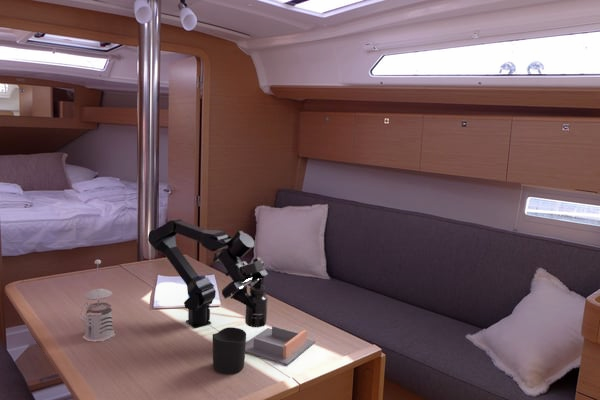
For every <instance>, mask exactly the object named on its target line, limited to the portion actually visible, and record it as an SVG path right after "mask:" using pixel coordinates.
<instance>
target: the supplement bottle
mask: <svg viewBox="0 0 600 400" xmlns="http://www.w3.org/2000/svg"><path fill="white" fill-rule="evenodd" d="M263 286H264V285H263ZM263 286H250V288H249V294H248V295H249V296H250V298H251V300H252V301H253V303H254V305H255V308H254V309H251V308H250V307H248V306H246V305H245V315H244V319H245V321H244V323H245V324H246V326H247V327H250V328H262V327H264V326H266V324H267V319H268V318H267V316H268V302H269V301H268V300H269V299H268V296H267V295H266V296H265V294H266V288H265V286H264V287H263Z"/></svg>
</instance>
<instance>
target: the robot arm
mask: <svg viewBox="0 0 600 400" xmlns="http://www.w3.org/2000/svg"><path fill="white" fill-rule="evenodd" d="M177 235H181V236H183V237H185V238H188V239H191V240H193V241H197V242H198V243H200V245H201V246H202V247H203V248H205V249H206V250H208V251H210V252H215V253H213V258H212V261H213V263H216V262H219V263H220V264H221V265H222V266H223V268H224V269H225V271H226V273H225V274H224V275H225V276H226V277H230V278H231V280H232V281H231V282H230V283H228V284H227V285H226V286H224V288H223V289H222V290H221V295H222V296H223V298H224V299H225V300H226V299H228V298H230V299H231V300H232V299H233V300H235V301H237V302H239V303H241V304H243V305H245V307H246V306H248V307H250V308H251V309H254V308H255V305H254V303H253V301H252V300H251V298H250V296H249V295H250V294H249V293H248V287H247V286H248V285H250V287H252V286H263V287H265V286H264V282H265V280H266V277H267V276H268V274H269V273H268V272H267V270H266V269H265V268H263V266H264V263H265V261H263V260H262V258H261V257H260V256H258V257H256V258H253V260H252V262H250V263H247V261H244V260H243V261H242V260H241V259H240V258H243V257H244V256H245V255H246V254H247V253H248V252H249V251H250V250H251V249H252V248H254V247H255V240H254V239H253V237H252V236H250V235H249V234H248V233H245V232H244V231H243V230H239V231H238V230H237V232H235V235H233V236H231V235H229V234H227V232H225V231H223V230H218V229H205V228H203V227H200V226H198V225H195V224H193V223H189V222H188V221H184V220H182V219H180V218H176V219H170V220H169V221H167V222H166V223H165V224H162V225H160V226H159V227H158V228H155V229H152V230H151V231H149V233H148V235H147V241H148V242H149V244H150V245H151V246H152V247H153V249H155V250H156V251H158V252H160V253H162V254H163V255H164V256H165V257H166V258H167V260H168V261H169V263H170V264H171V265H172V268H174V270H175V271H176V272H177V273H178V275H179V276H180V277H181V279H182V280H183V282H184V283H185V284H186V288H187V295H188V298H187V299H186V300H185V301H183V304H184V308H185V309H186V310H188V315H187V316H188V317H187V319H186V320H185V323H187V325H189V326H191V327H192V328H195V329H196V328H199V327H204V326H207V325H211V324H212V322H211V321H210V320H211V309H210V305H211V304H213V301H214V299H215V298H216V293H217V291H216V289H215V285H214V284H213V283H212V282H211V280H210V279H209V277H200V276H199V274H198V273H197V272H196V271H195V269H194V267H193V266H192V264H191V263H190V262H189V260H187V259H186V257H185V256H184V254H183V253H182V251H181V250H180V248H179V247H178V246H177V239H176V236H177ZM219 250H220V252H217V251H219ZM265 296H266V297H267V294H266V293H265Z"/></svg>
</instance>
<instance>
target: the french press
mask: <svg viewBox="0 0 600 400" xmlns="http://www.w3.org/2000/svg"><path fill="white" fill-rule="evenodd" d="M101 263H102V261H101V260H100V259H95V260H94V265H97V268H96V269H97V271H99V265H100V264H101ZM112 295H113V292H112V291H111V290H109V289H105V288H100V287H99V282H97V288H94V289H91V290H89V291H88V292H86V293H84V295H83V297H85V299H87V300H88V301H89V300H90V301H97V302H95V303H92V302H91V303H88V302H85V303H84V304H83V305H82V308H81V310H80V314H82V312H83V309H84V307H85V306H86V309H85V312H84V321H85V323H84V321H83V317H82V316H80V322H81V323H82V325H84V326H85V333H84V334H85V335H84V334H83V335H84V336H85V338H87V339H89V340H103V339H107V338H110V337H112V336H113V335H114V332H115V330H113V308H111V306H112V305H111V304H110V303H108V302H102V301H101V302H100V300H104V299H107V298H110V297H111V296H112ZM95 314H98V315H95Z"/></svg>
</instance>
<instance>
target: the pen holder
mask: <svg viewBox="0 0 600 400" xmlns="http://www.w3.org/2000/svg"><path fill="white" fill-rule="evenodd" d="M246 342H247V333H246V331H245V330H244V329H241V328H238V327H231V326H229V327H225V328H222V329H221V330H219V331H218V332H215V333H212V364H213V370H214V371H215V372H217V373H218V374H220V375H227V376H228V375H236V374H237V373H240V372H241V371H242V370H243V369H244V367H245V360H246V359H245V358H246V356H245V355H246V353H245V346H246Z"/></svg>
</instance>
